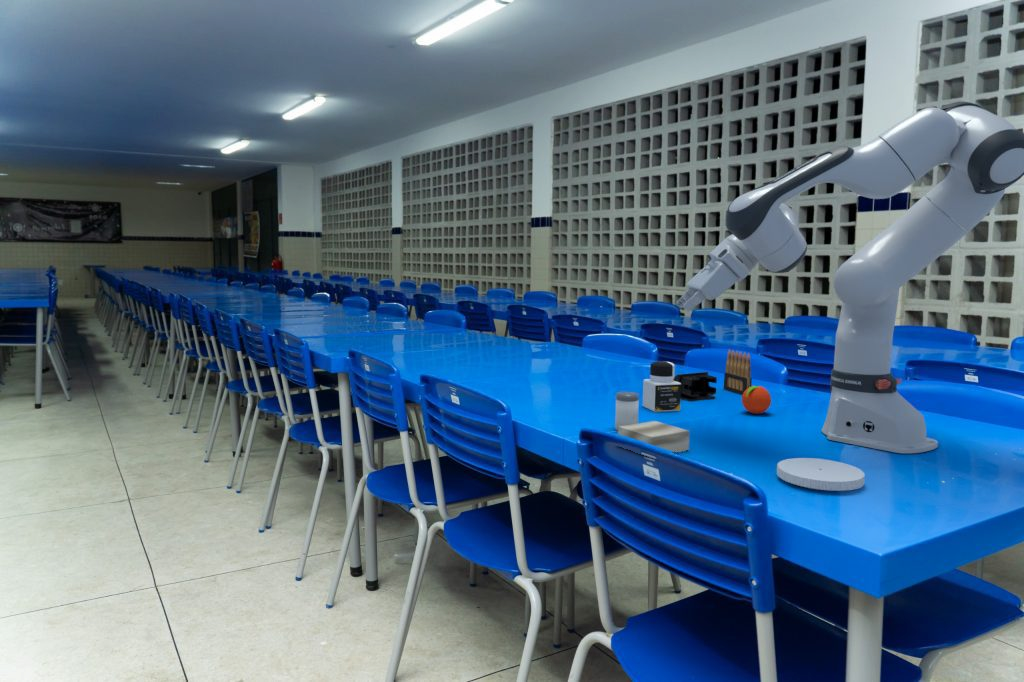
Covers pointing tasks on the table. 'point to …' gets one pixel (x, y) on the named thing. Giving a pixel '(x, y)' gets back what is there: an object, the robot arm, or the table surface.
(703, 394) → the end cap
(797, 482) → the plastic lid
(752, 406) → the clementine
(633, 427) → the plinth
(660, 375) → the medicine bottle
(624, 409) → the salt shaker
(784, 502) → the table surface
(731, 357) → the ammunition clip
